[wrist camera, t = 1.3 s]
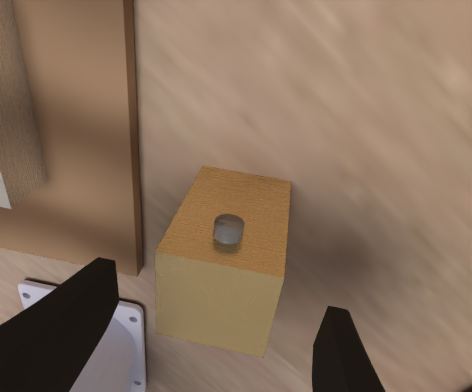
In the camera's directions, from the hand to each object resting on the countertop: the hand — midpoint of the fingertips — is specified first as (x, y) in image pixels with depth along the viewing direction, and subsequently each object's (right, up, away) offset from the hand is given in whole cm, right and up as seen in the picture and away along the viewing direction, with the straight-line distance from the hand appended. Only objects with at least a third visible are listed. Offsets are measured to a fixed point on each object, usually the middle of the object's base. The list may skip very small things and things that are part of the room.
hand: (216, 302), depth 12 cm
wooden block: (+1, +3, +5) cm, 6 cm away
